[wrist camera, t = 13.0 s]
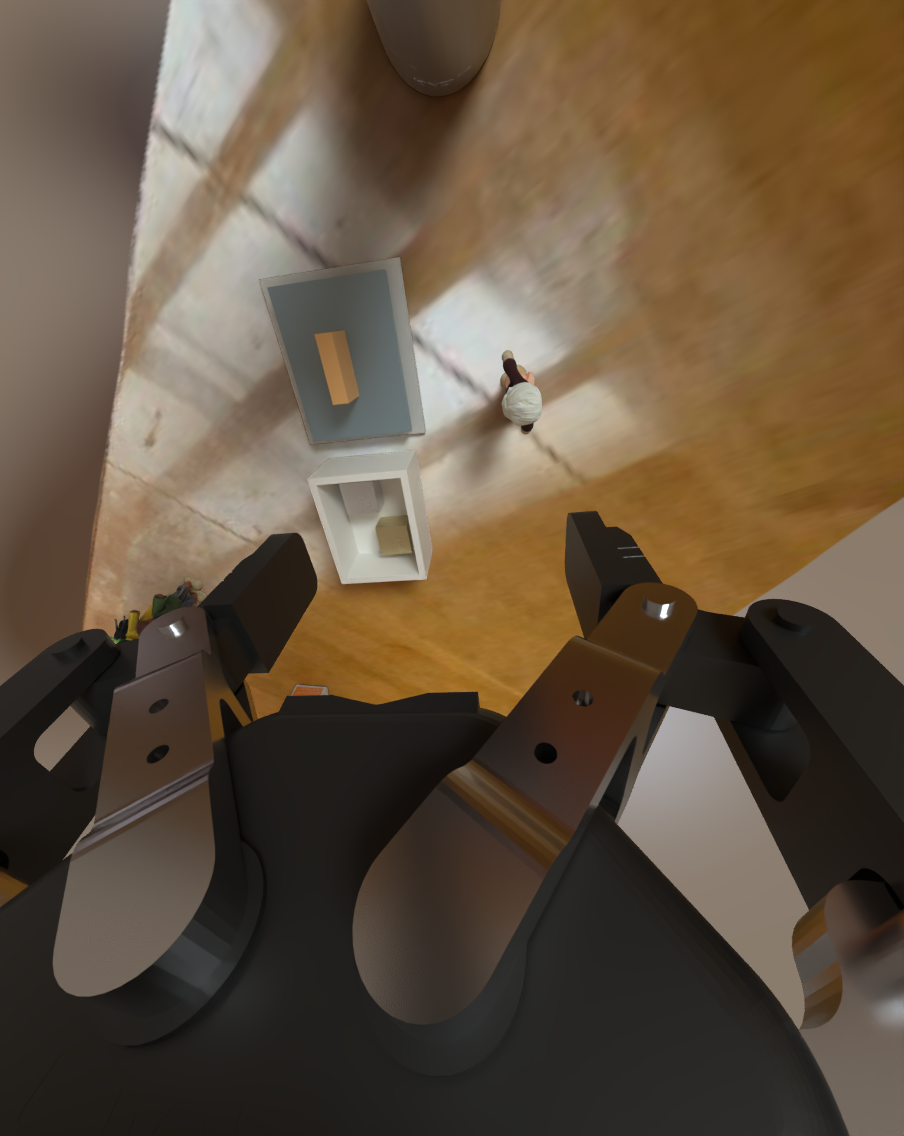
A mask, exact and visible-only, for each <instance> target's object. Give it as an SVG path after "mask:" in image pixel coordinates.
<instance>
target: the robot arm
mask: <svg viewBox="0 0 904 1136" xmlns="http://www.w3.org/2000/svg"><path fill="white" fill-rule="evenodd" d="M366 1H367V4H368V6H369V9H370V12H371V15H372V17H373V20H374V23H375V25H376V28H377V31H378V33H379V36H380V39H381V41H382V44H383V46H384V49H385V51H386V53H387V56H388V58H389V60H390V62H391V64H392V65H393V67H394V68H395V70H396V71H397V73H398V74H399V76H400V77H401V78H402V79H403V80H404V81H405V82H406V83H407V84H408V85H409V86H410V87H412V88H414V89H415V90H417V91H418V92H420V93H423V94H426V95H430V96H446V95H449V94H451V93H454V92H457V91H458V90H460V89H461V88H462V87H464V86H465V85H467V84H468V83H469V82H470V81H471V80H472V78H473V77H474V76H475V75H476V74H477V73H478V72H479V70H480V68H481V67H482V65H483V63H484V61H485V60H486V58H487V56H488V54H489V51H490V48H491V46H492V43H493V41H494V38H495V33H496V29H497V25H498V20H499V13H500V3H501V0H366ZM565 574H566V580H567V583H568V587H569V590H570V593H571V596H572V600H573V603H574V606H575V609H576V613H577V616H578V619H579V622H580V625H581V629H582V632H583V635H584V638H582V637H580V636H574V637H572V638H571V639H570V640H569V641H568V642H567V643H566V645H565V646H564V647H563V648H562V650H561V651H560V652H559V653H558V655H557V656H556V657H555V658H554V659H553V661H552V662H551V663H550V664H549V666H548V667H547V668H546V669H545V670H544V672H543V673H542V674H541V675H540V677H539V678H538V679H537V680H536V682H535V683H534V684H533V685H532V686H531V688H530V689H529V690H528V691H527V693H526V694H525V695H524V696H523V697H522V699H521V700H520V701H519V702H518V704H517V705H516V706H515V707H514V709H513V710H512V711H511V712H510V713H509V715H508V716H507V717H506V716H504V715H501V714H499V713H496V712H494V711H491V710H488V709H483V708H480V705H479V697H478V692H448V693H426V694H422V695H418V696H414V697H409V698H405V699H401V700H397V701H392V702H388V703H384V704H379V705H374V704H369V703H364V702H360V701H356V700H351V699H347V698H343V697H338V696H334V695H307V696H287V697H286V699H285V701H284V703H283V705H282V707H281V708H280V710H279V712H277V713H274V714H271V715H268V716H265V717H262V718H260V719H258V718H257V714H256V710H255V706H254V702H253V698H252V695H251V691H250V687H249V685H248V683H247V682H246V680H245V678H246V676H247V675H248V673H269V671H270V670H271V668H272V666H273V665H274V663H275V661H276V660H277V658H278V656H279V655H280V653H281V651H282V650H283V648H284V646H285V645H286V643H287V641H288V640H289V638H290V636H291V634H292V633H293V631H294V629H295V628H296V626H297V624H298V623H299V621H300V619H301V618H302V616H303V614H304V613H305V611H306V609H307V608H308V606H309V604H310V603H311V601H312V599H313V598H314V596H315V594H316V591H317V576H316V573H315V570H314V568H313V565H312V562H311V560H310V557H309V554H308V551H307V549H306V546H305V543H304V541H303V539H302V537H301V536H300V535H299V534H298V533H285V534H273V535H271V536H269V537H268V538H267V540H266V541H265V542H264V543H263V544H262V545H261V546H260V547H259V548H258V549H257V550H256V551H255V552H254V553H253V554H252V555H250V556H248V557H247V558H245V559H244V560H242V561H241V562H240V563H239V564H238V565H237V566H236V567H235V568H234V569H233V570H232V573H229V574H228V576H227V577H226V578H225V579H224V581H222V582H221V583H220V584H219V585H218V586H217V587H216V588H215V589H214V590H213V591H212V592H211V593H210V594H209V595H208V596H207V597H206V598H205V599H204V600H203V601H202V602H201V603H200V604H199V605H198V606H197V607H196V606H190V607H183V608H179V609H176V610H173V611H171V612H168V613H166V614H164V615H162V616H160V617H158V618H157V619H155V620H154V621H152V622H151V623H150V624H149V625H147V626H146V627H145V628H144V630H143V631H142V632H141V634H140V637H139V638H138V639H134V640H130V641H126V642H122V643H118V644H115V643H114V642H113V640H112V639H111V638H110V637H109V635H108V634H107V633H106V632H105V631H104V630H102V629H91V630H86V631H82V632H79V633H76V634H73V635H71V636H69V637H66V638H64V639H62V640H60V641H58V642H56V643H55V644H53V645H51V646H50V647H48V648H47V649H46V650H44V651H43V652H42V653H40V654H39V655H38V656H37V657H35V658H34V659H33V660H32V661H30V662H29V663H28V664H27V665H26V666H24V667H23V668H22V669H21V670H19V671H18V672H17V673H16V674H15V675H13V676H12V677H11V678H10V679H8V680H7V681H6V682H5V683H3V684H2V685H1V686H0V1136H904V686H903V684H902V683H901V682H899V681H898V680H897V679H896V678H895V677H894V676H893V675H892V674H891V673H890V672H889V671H888V670H887V669H886V668H885V667H884V666H883V665H882V664H880V662H879V661H878V660H877V659H876V658H875V657H874V656H872V654H871V653H869V652H868V651H867V650H866V649H865V648H864V647H863V646H862V645H861V644H860V643H859V642H858V641H857V640H856V639H855V638H854V637H853V636H852V635H851V634H850V633H849V632H848V631H847V630H846V629H845V628H843V627H842V626H841V625H840V624H839V623H838V622H837V621H836V620H835V619H834V618H832V617H831V616H829V615H828V614H826V613H824V612H822V611H820V610H818V609H816V608H814V607H811V606H808V605H805V604H802V603H798V602H794V601H790V600H782V599H766V600H761V601H757V602H755V603H753V604H752V605H751V606H750V607H749V609H748V611H747V614H746V616H745V618H743V617H737V616H731V615H724V614H717V613H711V612H706V611H702V610H698V607H697V604H696V602H695V601H694V599H693V598H692V597H691V596H689V595H688V594H687V593H685V592H684V591H682V590H680V589H678V588H676V587H673V586H670V585H666V584H663V583H662V582H661V580H660V579H659V577H658V576H657V574H656V573H655V571H654V570H653V568H652V567H651V565H650V564H649V562H648V560H647V559H646V557H644V554H643V553H642V551H641V550H640V548H638V545H637V544H636V542H635V541H634V539H633V538H632V536H631V535H630V534H628V533H626V532H625V531H623V530H621V529H620V528H618V527H606V526H605V525H604V523H603V521H602V519H601V518H600V516H599V514H598V512H597V511H588V512H574V513H568V516H567V527H566V548H565ZM69 706H71V707H72V708H73V709H74V710H75V711H76V712H77V713H78V714H79V715H80V716H81V717H82V718H83V719H84V720H85V721H86V722H87V723H88V724H89V725H90V727H89V728H88V729H87V731H86V732H85V733H84V734H83V735H82V736H81V737H80V738H79V740H78V741H77V742H76V743H75V744H74V745H73V746H72V748H71V749H70V750H69V751H68V752H67V753H66V754H65V756H64V757H63V758H62V759H61V760H60V761H59V762H58V763H57V764H56V765H55V767H54V768H53V769H52V770H51V771H48V770H47V769H46V768H44V767H43V766H42V765H41V764H40V763H38V762H37V761H36V759H35V757H34V747H35V744H36V741H37V740H38V738H39V737H40V735H41V734H42V733H43V732H44V731H45V730H46V729H47V728H48V727H49V726H50V725H51V724H52V723H53V722H54V721H55V720H56V719H57V718H58V717H59V716H60V715H61V714H62V713H63V712H64V711H65V710H66V709H67V708H68V707H69ZM670 706H671V707H675V708H680V709H684V710H688V711H692V712H696V713H700V714H704V715H708V716H712V717H714V718H715V720H716V722H717V724H718V726H719V728H720V730H721V732H722V734H723V736H724V738H725V740H726V742H727V744H728V746H729V748H730V750H731V753H732V755H733V757H734V759H735V761H736V763H737V765H738V767H739V769H740V771H741V773H742V775H743V777H744V779H745V781H746V783H747V785H748V787H749V789H750V791H751V793H752V795H753V797H754V799H755V801H756V803H757V805H758V807H759V809H760V811H761V813H762V815H763V817H764V819H765V821H766V823H767V825H768V828H769V830H770V832H771V834H772V836H773V838H774V840H775V841H776V844H777V846H778V848H779V850H780V852H781V854H782V856H783V858H784V860H785V862H786V864H787V866H788V868H789V870H790V872H791V874H792V876H793V878H794V880H795V882H796V884H797V886H798V888H799V890H800V892H801V894H802V896H803V898H804V900H805V902H806V905H807V907H808V909H809V911H808V912H807V913H806V914H805V915H804V916H802V917H801V918H800V919H799V921H798V922H797V924H796V925H795V927H794V931H793V935H792V950H793V956H794V960H795V963H796V967H797V970H798V973H799V976H800V979H801V983H802V987H803V993H804V1000H805V1012H804V1017H803V1023H802V1025H801V1027H800V1029H798V1028H797V1027H796V1026H795V1024H794V1022H793V1021H792V1019H791V1018H790V1017H789V1015H788V1013H787V1012H786V1011H785V1009H784V1008H783V1006H782V1005H781V1003H780V1002H779V1001H778V1000H777V998H776V997H775V996H774V994H773V993H772V992H771V990H770V989H769V988H768V987H767V986H766V984H765V983H764V982H763V981H762V980H761V978H760V977H759V976H758V975H757V974H756V973H755V971H753V969H752V968H751V967H750V966H749V965H748V964H747V963H746V962H745V961H744V960H743V958H741V956H740V955H739V954H738V953H737V952H736V951H735V950H734V949H733V948H732V947H731V946H730V945H729V944H728V942H727V941H726V940H725V939H724V938H723V937H722V936H721V935H720V934H719V933H718V932H717V931H716V930H715V929H714V928H713V926H712V925H711V924H710V923H709V922H708V921H707V920H706V919H705V918H704V917H703V916H702V915H701V914H700V913H699V912H698V910H697V909H696V908H695V907H694V906H693V905H692V904H691V903H690V902H689V901H688V900H687V899H686V898H685V897H684V896H683V894H682V893H681V892H680V891H679V890H678V889H677V888H676V887H675V886H674V885H673V884H672V883H671V882H670V880H669V879H668V878H667V877H666V876H665V875H664V874H663V873H662V872H661V871H660V870H659V869H658V868H657V867H656V866H655V864H654V863H653V862H652V861H651V860H650V859H649V858H648V857H647V856H646V855H645V854H644V853H643V852H642V850H640V848H639V847H638V846H637V845H636V844H635V843H634V842H633V841H632V840H631V839H630V838H629V837H628V836H627V835H626V833H625V832H624V831H623V830H622V829H621V828H620V827H619V826H618V825H617V824H618V822H619V820H620V818H621V815H622V813H623V811H624V809H625V807H626V804H627V802H628V799H629V797H630V795H631V792H632V789H633V787H634V784H635V781H636V778H637V776H638V773H639V771H640V768H641V766H642V764H643V762H644V760H645V757H646V755H647V753H648V751H649V749H650V747H651V745H652V743H653V740H654V738H655V736H656V734H657V732H658V730H659V728H660V726H661V724H662V721H663V719H664V717H665V715H666V713H667V711H668V709H669V707H670ZM94 816H95V821H94V825H93V828H92V830H91V831H90V832H89V834H87V835H86V836H84V837H83V838H82V839H81V840H80V841H79V842H78V844H77V845H76V847H75V849H74V851H73V853H72V854H70V855H69V856H68V857H66V858H65V859H64V857H65V856H66V854H67V853H68V852H69V850H70V849H71V848H72V846H73V845H74V843H75V842H76V840H77V839H78V838H79V836H80V835H81V834H82V832H83V831H84V829H85V828H86V827H87V825H88V824H89V823H90V821H91V820H92V818H93V817H94ZM63 859H64V860H63Z"/></svg>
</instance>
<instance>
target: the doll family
mask: <svg viewBox="0 0 904 1136" xmlns="http://www.w3.org/2000/svg"><path fill="white" fill-rule="evenodd" d="M184 583H185V584H183V585H181V586H179V587H178V588H177V591H176V592H175V593H169V594H167V596H164V595H161V594H158V595H155V596H154V599H153V606H150V607H149V609H148V610H147V611H146V613H145V614H144V615H143V616H142V617H141V618H140V620H139V615H140V611H137V610H133V611H130V612H129V619H126V620H125V616H124V620H122V621H120V623H119V628H118V625H117V620H116V619H114V620H115V625H116V632H115V634H114V638H112V637H110V636H109V637H110V638H111V639H112V640H113V641H116V642H118V643H122V642H126V641H130V640H134V639H138V638H139V637H140V634H141V632H142V631H143V630H144V628H145V627H146V626H147V625H149V624H150V623H151V622H152V621H154V620H155V619H157V618H158V617H160V616H162V615H164V614H166V613H168V612H171V611H173V610H176V609H179V608H183V607H189V606H191V605H193V604H194V603H195V600H197V601H199V602H202V601H203V600H204V599H205V598H206V597H207V596H206V594H204V593H203V592H201V591H199V590H200V589H202V586H203V585H202V583H201V582H200V581H199V580H197V579H193V578H190V577H186V578H185V579H184ZM190 588H191V589H190ZM189 589H190V595H186V594H187V592H188V590H189ZM118 643H117V644H118Z"/></svg>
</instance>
